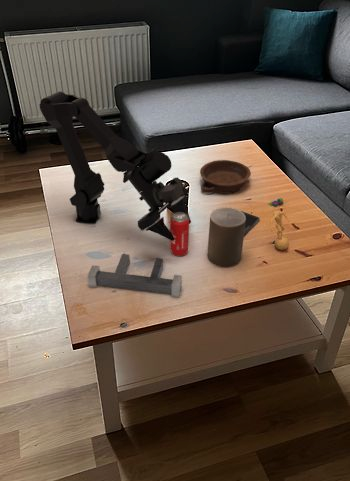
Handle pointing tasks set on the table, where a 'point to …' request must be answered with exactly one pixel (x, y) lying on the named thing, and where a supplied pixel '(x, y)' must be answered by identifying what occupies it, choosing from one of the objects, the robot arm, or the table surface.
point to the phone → (250, 222)
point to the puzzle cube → (277, 202)
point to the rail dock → (135, 279)
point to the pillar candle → (226, 236)
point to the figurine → (279, 231)
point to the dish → (224, 176)
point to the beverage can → (179, 233)
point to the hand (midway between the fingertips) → (181, 231)
